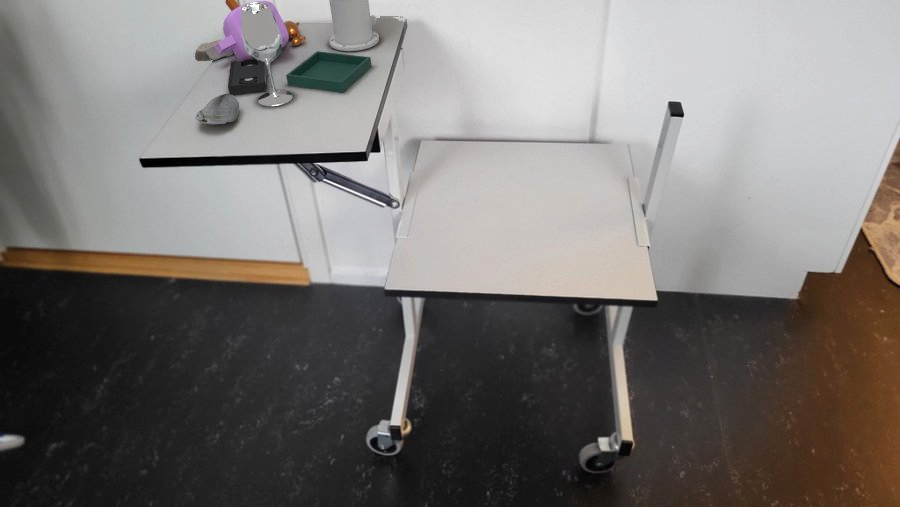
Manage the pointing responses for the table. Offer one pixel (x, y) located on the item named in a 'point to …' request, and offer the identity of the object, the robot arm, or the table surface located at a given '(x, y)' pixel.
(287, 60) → the table surface
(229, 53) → the stone
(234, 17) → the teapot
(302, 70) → the tray
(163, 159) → the table surface
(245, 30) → the wineglass
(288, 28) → the figurine
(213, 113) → the seashell
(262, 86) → the vhs tape
